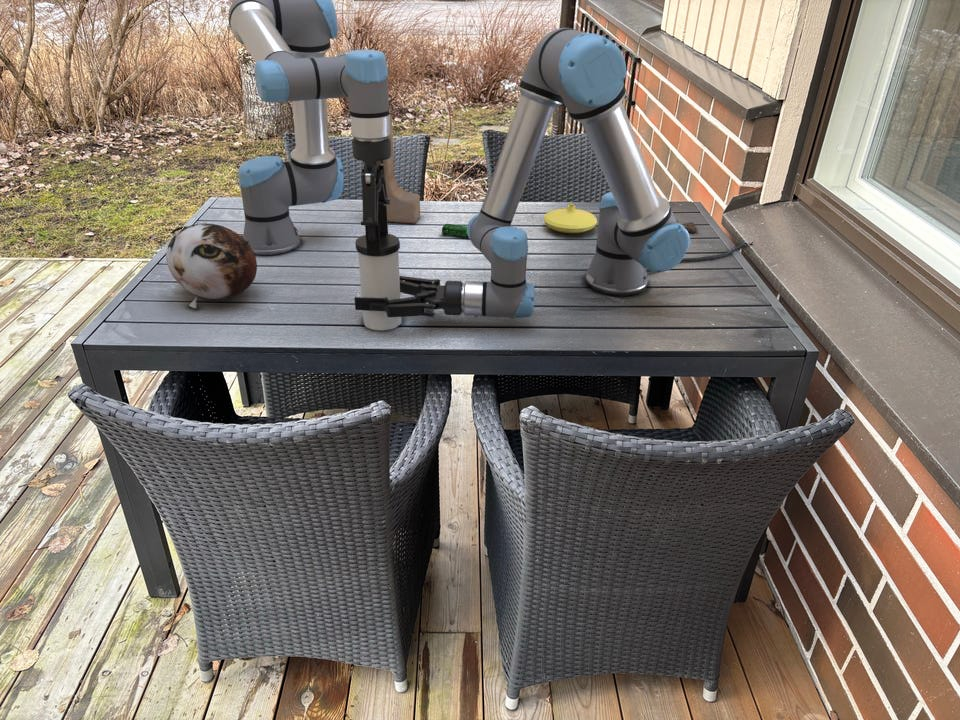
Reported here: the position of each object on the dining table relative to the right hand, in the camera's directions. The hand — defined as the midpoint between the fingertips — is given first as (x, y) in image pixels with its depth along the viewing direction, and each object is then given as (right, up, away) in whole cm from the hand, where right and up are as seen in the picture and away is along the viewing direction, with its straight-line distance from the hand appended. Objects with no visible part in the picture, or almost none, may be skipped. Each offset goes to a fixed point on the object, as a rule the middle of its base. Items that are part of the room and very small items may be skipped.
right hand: (359, 294), depth 156 cm
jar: (+5, -6, +3) cm, 8 cm away
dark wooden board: (+77, +24, +55) cm, 98 cm away
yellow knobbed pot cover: (+53, +24, +55) cm, 80 cm away
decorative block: (0, +28, +60) cm, 67 cm away
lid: (+5, +10, -7) cm, 13 cm away
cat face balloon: (-36, +1, +13) cm, 38 cm away
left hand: (+5, +10, -6) cm, 13 cm away
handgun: (+25, +23, +52) cm, 62 cm away
